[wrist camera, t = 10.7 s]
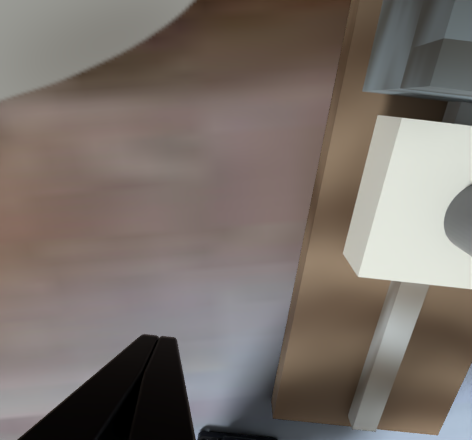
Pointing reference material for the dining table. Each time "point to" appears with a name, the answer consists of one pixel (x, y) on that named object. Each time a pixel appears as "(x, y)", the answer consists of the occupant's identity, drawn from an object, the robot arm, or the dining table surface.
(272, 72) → the dining table surface
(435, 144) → the carriage
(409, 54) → the rail board
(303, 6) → the dining table surface
